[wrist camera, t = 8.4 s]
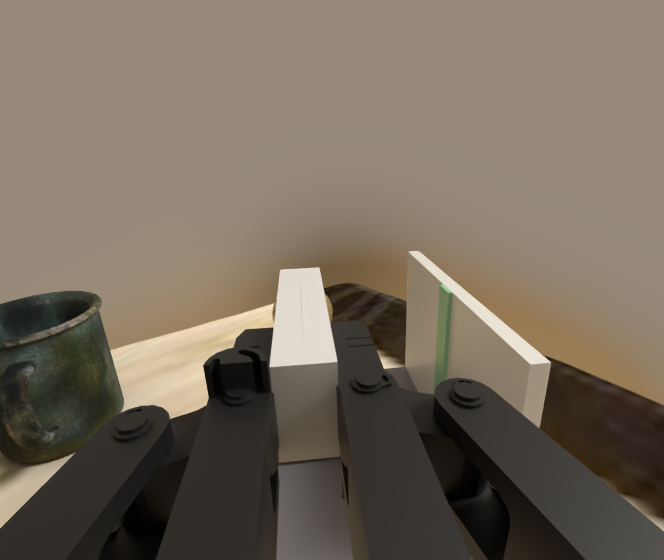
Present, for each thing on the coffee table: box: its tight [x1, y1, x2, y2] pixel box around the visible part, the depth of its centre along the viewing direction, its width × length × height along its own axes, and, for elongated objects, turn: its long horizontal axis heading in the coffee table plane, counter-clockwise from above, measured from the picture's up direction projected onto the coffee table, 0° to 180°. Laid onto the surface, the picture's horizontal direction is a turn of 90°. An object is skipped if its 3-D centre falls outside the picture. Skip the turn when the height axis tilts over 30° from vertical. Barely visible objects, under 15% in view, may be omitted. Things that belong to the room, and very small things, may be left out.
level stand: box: [276, 251, 551, 560], centre depth 29 cm, size 20×16×14 cm
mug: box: [0, 291, 124, 463], centre depth 33 cm, size 11×15×12 cm
